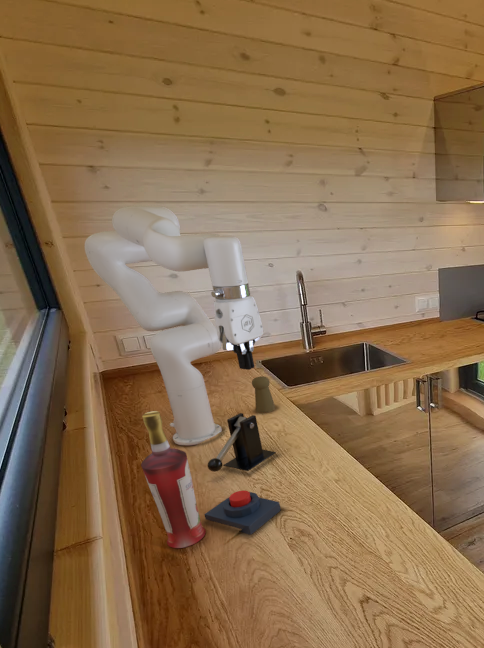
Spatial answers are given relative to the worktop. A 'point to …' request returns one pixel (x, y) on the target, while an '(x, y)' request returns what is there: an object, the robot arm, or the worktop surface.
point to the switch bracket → (247, 444)
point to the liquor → (171, 486)
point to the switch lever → (225, 448)
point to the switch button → (240, 498)
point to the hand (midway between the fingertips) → (247, 368)
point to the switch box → (244, 513)
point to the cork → (263, 395)
